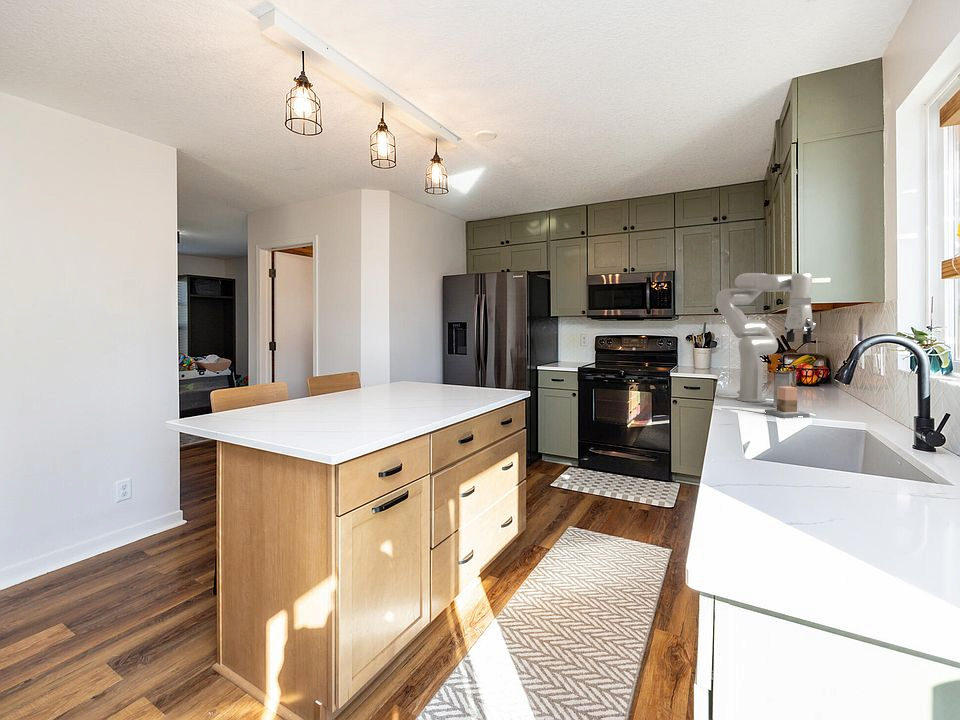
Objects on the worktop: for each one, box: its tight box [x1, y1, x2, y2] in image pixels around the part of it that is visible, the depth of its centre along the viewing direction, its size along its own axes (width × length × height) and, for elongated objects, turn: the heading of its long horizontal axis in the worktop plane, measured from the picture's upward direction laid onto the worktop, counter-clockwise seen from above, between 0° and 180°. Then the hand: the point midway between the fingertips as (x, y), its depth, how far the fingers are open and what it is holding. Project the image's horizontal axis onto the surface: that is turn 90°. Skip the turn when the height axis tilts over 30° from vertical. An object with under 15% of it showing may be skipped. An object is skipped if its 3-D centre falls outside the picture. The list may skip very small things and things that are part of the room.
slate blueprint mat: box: [764, 408, 811, 419], centre depth 190 cm, size 11×11×2 cm
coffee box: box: [773, 370, 798, 408], centre depth 207 cm, size 9×6×16 cm
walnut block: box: [776, 399, 798, 413], centre depth 190 cm, size 5×5×5 cm
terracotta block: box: [777, 386, 799, 401], centre depth 190 cm, size 5×5×5 cm
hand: (798, 342), depth 198 cm, fingers open, 9 cm apart
